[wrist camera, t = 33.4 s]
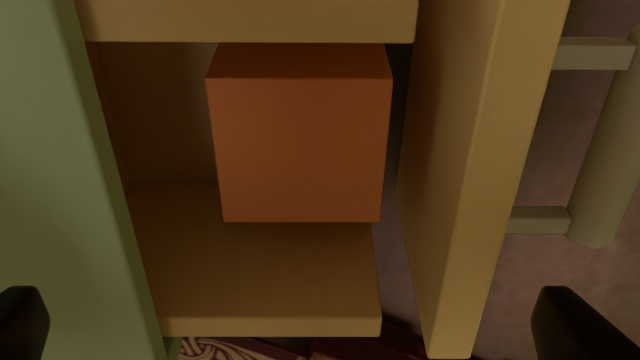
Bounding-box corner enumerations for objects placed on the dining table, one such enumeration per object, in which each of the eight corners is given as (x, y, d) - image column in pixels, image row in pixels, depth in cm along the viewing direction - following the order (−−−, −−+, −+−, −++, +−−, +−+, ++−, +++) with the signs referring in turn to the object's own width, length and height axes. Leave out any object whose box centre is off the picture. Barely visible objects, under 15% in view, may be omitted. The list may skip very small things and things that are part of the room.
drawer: (633, -109, 14) (855, -39, 8) (538, 196, 20) (627, 360, 15) (44, -113, 14) (-148, -46, 8) (125, 195, 20) (47, 360, 14)
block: (376, 14, 15) (394, 78, 12) (368, 140, 18) (380, 222, 14) (229, 14, 15) (203, 78, 12) (241, 140, 18) (223, 223, 14)
